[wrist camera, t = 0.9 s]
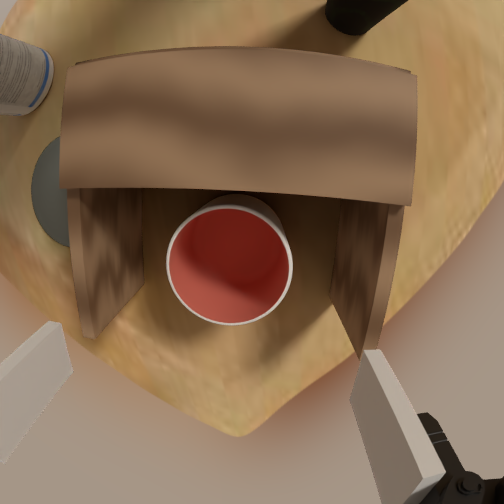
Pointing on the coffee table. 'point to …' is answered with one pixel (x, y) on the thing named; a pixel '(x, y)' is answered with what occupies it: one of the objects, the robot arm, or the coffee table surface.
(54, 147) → the coaster
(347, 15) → the cup
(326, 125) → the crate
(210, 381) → the coffee table surface
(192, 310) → the cup
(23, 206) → the coffee table surface
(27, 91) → the supplement tub
